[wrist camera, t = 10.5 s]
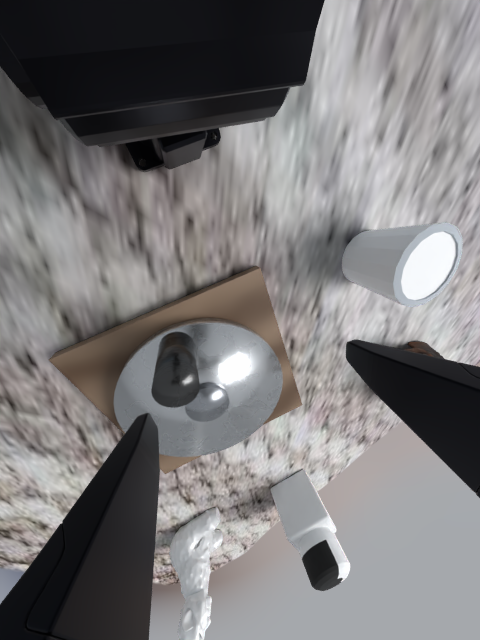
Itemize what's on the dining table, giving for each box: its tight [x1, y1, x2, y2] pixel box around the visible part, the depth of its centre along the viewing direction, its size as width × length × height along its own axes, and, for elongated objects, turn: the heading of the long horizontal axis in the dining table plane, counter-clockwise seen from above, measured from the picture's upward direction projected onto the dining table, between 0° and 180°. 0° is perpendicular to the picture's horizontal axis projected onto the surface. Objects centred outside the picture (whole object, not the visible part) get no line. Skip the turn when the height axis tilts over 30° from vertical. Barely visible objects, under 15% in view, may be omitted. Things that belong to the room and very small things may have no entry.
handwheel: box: [114, 318, 283, 457], centre depth 20 cm, size 17×17×7 cm
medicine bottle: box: [270, 469, 350, 591], centre depth 34 cm, size 7×7×12 cm
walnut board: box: [49, 266, 302, 474], centre depth 24 cm, size 20×20×1 cm
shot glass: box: [342, 222, 462, 307], centre depth 20 cm, size 7×7×7 cm
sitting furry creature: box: [169, 507, 223, 640], centre depth 31 cm, size 10×9×12 cm
